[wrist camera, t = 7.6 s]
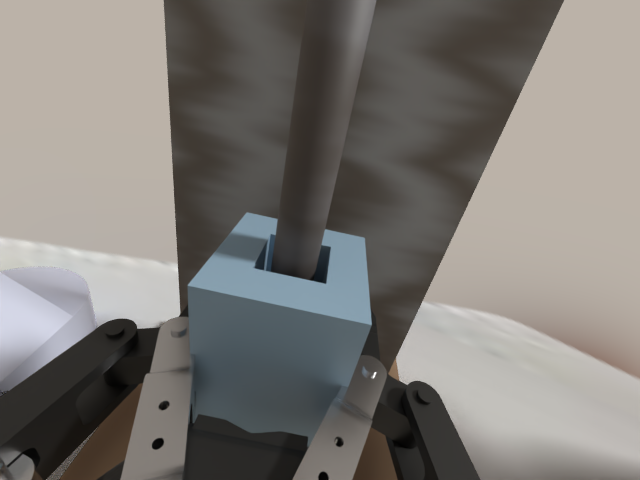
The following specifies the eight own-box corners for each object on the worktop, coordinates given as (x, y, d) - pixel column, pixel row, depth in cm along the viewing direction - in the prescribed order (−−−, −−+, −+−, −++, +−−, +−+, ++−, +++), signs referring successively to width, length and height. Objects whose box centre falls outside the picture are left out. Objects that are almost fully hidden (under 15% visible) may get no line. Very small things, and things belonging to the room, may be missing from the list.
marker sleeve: (327, 360, 17) (364, 237, 13) (318, 466, 12) (372, 324, 8) (237, 340, 16) (246, 212, 13) (193, 439, 12) (187, 285, 8)
